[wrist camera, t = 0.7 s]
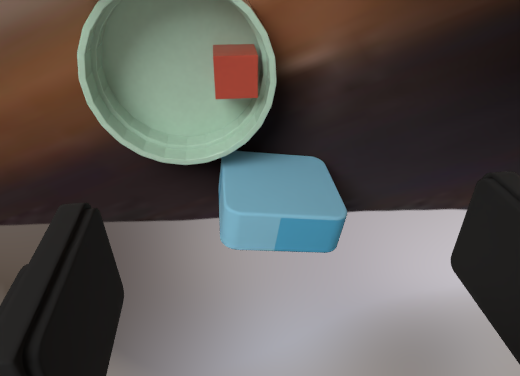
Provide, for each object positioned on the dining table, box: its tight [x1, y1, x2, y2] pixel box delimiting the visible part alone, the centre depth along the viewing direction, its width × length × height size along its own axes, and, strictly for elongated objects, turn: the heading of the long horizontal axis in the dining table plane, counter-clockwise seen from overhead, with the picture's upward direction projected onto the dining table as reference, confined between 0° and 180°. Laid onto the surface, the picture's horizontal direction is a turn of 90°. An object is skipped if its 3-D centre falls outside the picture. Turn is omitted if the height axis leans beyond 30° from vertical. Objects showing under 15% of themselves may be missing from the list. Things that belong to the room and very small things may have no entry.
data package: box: [219, 151, 347, 253], centre depth 42 cm, size 12×4×12 cm, turn 82°
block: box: [213, 44, 258, 99], centre depth 37 cm, size 4×4×4 cm
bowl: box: [77, 0, 277, 165], centre depth 37 cm, size 17×17×5 cm
